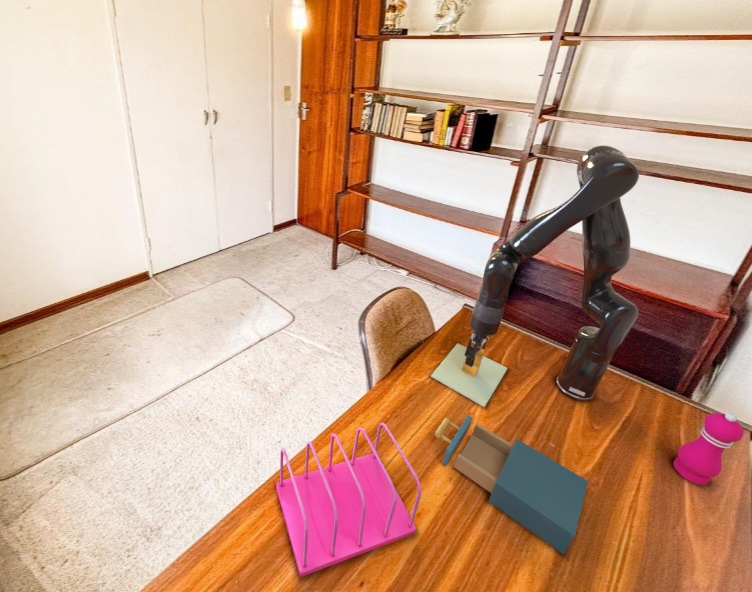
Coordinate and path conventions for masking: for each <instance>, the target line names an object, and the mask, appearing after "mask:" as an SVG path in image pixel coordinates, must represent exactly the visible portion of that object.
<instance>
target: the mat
mask: <svg viewBox="0 0 752 592" xmlns="http://www.w3.org/2000/svg"><path fill="white" fill-rule="evenodd" d="M466 349H467V346H464V345H462V344H460V343H458V342H457V343H456V344H455V346H454V347H453V348H452V349H451V350H450V352H449V353H448V354H447V355H446V356H445V358H444V359H443V360H442V361H441V362H440V364H439V365H438V366H437V367H436V369H435V370H434V371H433V372H432V373H431V374H430V377H431V378H432V379H434V380H436V381H438V382H439V383H441V384H443V385H445V386H446V387H448V388H450V389H451V390H452V391H455V392H457V393H458V394H460V395H462V396H464V397H465V398H467V399H468V400H471V401H472V402H475V403H476V404H477V405H479V406H481V407H483V408H485V407H486V406H487V404H488V402H489V401H490V399H491V397H492V395H493V394H494V393H495V390H496V389H497V387H499V384H500V382H501V381H502V379H503V377H504V376H505V374H506V372H507V371H508V367H506V366H505V365H502V364H500V363H498V362H496V361H494V360H492V359H491V358H488V357H486V356H485V355H483V358H482V362H481V365H480V368H479V371H478V373H477V375H476V376H475V378H474V377H472V376H470V375H468V374H466V373H464V372H462V367H463V364H464V360H465V357H466V356H464V355H465V352H466Z"/></svg>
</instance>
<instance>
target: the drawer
mask: <svg viewBox="0 0 752 592" xmlns="http://www.w3.org/2000/svg"><path fill="white" fill-rule="evenodd" d="M472 420H473V416H471V415H469V414H467V416H466V417H465V418H464V420H463V422H462V423H461V425H460V427H459V426H458V425H457V424H455V423H453V422H452V421H451V420H450V418H449V417H444V419H443V420H442V422H441V423H440V424H439V426H438V428H437V429H436V430H435V432H434V436H435V438H438V439H439V438H441V439H442V440H444V441H445V442H447V443H448V446H447V447H446V448H445V452H444V454H443V458H442V462H441V464H443V465H444V466H446V467H447V466H448V465H449V463H450V462H451V460H452V458H453V457H454V456H455V454H456V452H457V450H458V449H459V447H460V445H461V444H462V442H463V441H464V439H465V437H466V435H467V434H468V432H469V430H470V427H471V423H472ZM448 426H450V427H452V428H454V429H455V430H457V431H456V433H455V435H454V437H453V438H452V439H450V438H449V437H447V436H446V435H444V434H443V433H444V432H445V430H446V429H447V427H448ZM472 431H473V432H472V434H471V435H470V438H469V439H468V441H467V442H466V445H464V448H463V449H462V451H461V453H457V455H456V459H455V462H454V465H453V468H454V469H456V470H457V471H458V472H460V473H461V474H463V475H464V476H465V477H467V478H469V479H470V480H471V481H473V482H474V483H476V484H477V485H478V486H479V487H481V488H483V489H484V490H485V491H487V492H489V493H490V494H492V491H493V489H494V486H495V484H496V481H497V479H498V477H499V475H500V473H501V471H502V469H503V466H504V464H505V462H506V460H507V458H508V456H509V454H510V451H511V449H512V447H513V445H514V444H512V443H511V442H509V441H508V440H506V439H505V438H502V437H501V436H499V435H497V434H496V433H495V432H493V431H491V430H489V429H488V428H486V427H485V426H482V425H481V424H479V423H477V422H476V423H475V425H474V429H473V430H472Z"/></svg>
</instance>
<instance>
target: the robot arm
mask: <svg viewBox="0 0 752 592" xmlns="http://www.w3.org/2000/svg"><path fill="white" fill-rule="evenodd" d="M576 176H577V180H578V185H579V189H578V190H577V191H576V192H575V193H574V195H572V196H571V197H570V198H569V199H567V200H566V201H565V202H563V203H561V204H559V205H558V206H556V207H553V208H551V209H549V210H546V211H543V212H541V213H538V214H537V215H535V216H534V217H532V218H531V219H530V220H529V221H528V222H526V223H525V224H524V225H523V226H522V227H521V228H520V229H519V230H518V231H516V232H515V233H514V234H513V235H512V237H510V238H509V239H508V240H506V241H504V242H503V243H502V244H500V245H499V246H497V248H495V249H494V250H493V251H492V252H491V254H490V255H489V258H488V259H487V261H486V264H485V266H484V270H483V277H482V283H481V286H480V289H479V292H478V296H477V297H476V298H477V299H476V300H475V303H474V306H473V308H472V309H473V310H472V313H471V316H470V320H469V325H470V327H471V329H473V332H472V333H471V338H469V339H468V343H467V346H466V348H467V349H466V352H465V355H464V356H466V361H465V364H466V365H468V366H470V367H472V366H473V364H474V361H475V358H476V356H477V353H478V352H480V351H481V349H483V350H485V348H486V346H487V345H486V344H487V343H488V342H489V340H490V338H491V337H492V336H495V335H496V334H497V333H498V331H499V329H500V325H501V322H502V319H503V316H504V313H505V307H506V304H507V300H508V298H509V294H510V293H509V292H510V287H511V285H512V282H513V279H514V278H515V274H516V272H517V269H518V267H519V266H520V265H521V264H523V262H524V261H526V260H527V259H528V258H533V257H535V256H536V255H538V254H539V253H541V252H542V251H543V250H544V249H545V248H546V247H548V246H549V245H550V244H552V242H554V241H555V240H557V238H559V237H560V236H561V235H562V234H564V233H565V232H566V231H568V230H569V229H571V228H573V227H574V226H576V225H578V224H579V223H581V234H582V235H581V240H582V241H581V245H582V258H583V283H582V284H583V285H582V292H581V293H582V294H581V309H582V311H583V312H584V314H586V316H587V317H589V318H590V319H591V320H593V321H594V322H595V323H596V324H598V325H599V327H598V326H590V325H585V326H582V327H580V328H579V329H578V330H577V332H576V334H575V336H574V338H573V341H572V344H571V346H570V349H569V351H568V353H567V355H566V357H565V360H564V362H563V364H562V366H561V369H560V371H559V373H558V375H557V377H556V379H555V385H556V386H557V388H558V389H559V390H560V391H561V392H562V393H563V394H564V395H566V396H568V397H570V399H574V400H577V401H580V402H589V401H591V400H593V398H594V396H595V393H596V391H597V389H598V387H599V385H600V383H601V381H602V379H603V378H604V376H605V373H606V371H607V370H608V367H609V366H610V364H611V361H612V359H613V357H614V355H615V353H616V351H617V350H618V348H620V346H622V345H623V343H624V342H625V340H626V338H627V336H628V335H629V334H630V332H631V330H632V329H633V327H634V325H635V324H636V322H637V319H638V317H639V308H638V306H636V305H635V304H634V303H633V302H632V301H630V300H629V299H627V298H625V297H623V296H622V295H621V294H620V293H618V292H616V291H615V290H614V288H613V284H612V278H613V276H614V275H616V274H617V273H618V272H620V271H621V270H622V269H624V268H625V267H626V265H627V264H628V263H629V261H630V258H631V243H632V242H631V232H630V228H629V223H628V221H627V217H626V214H625V212H624V211H625V210H624V208H623V204H622V201H621V200H622V199H621V198H622V197H623V196H625V195H626V194H628V193H629V192H631V190H632V189H634V187H635V186H636V185H637V183H638V181H639V179H640V172H639V169H638V167H637V166H636V165H635V163H633V161H631V159H630V158H629V157H628V156H627V155H625V153H623V152H622V151H621V150H620V149H617V148H616V147H613V146H611V145H596V146H594V147H592V148H590V149H588V150H587V151H585V153H583V154H582V155H581V157H580V158H579V160H578V162H577V165H576ZM478 347H479V348H478Z"/></svg>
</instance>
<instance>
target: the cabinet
mask: <svg viewBox="0 0 752 592" xmlns="http://www.w3.org/2000/svg"><path fill="white" fill-rule="evenodd" d="M512 445H513V447H512V449H511V451H510V454H509V456H508V458H507V460H506V462H505V464H504V466H503V469H502V471H501V473H500V475H499V477H498V479H497V481H496V484H495V486H494V489H493V491H492V493H490V496H489V499H488V503H490V504H492V505H493V506H494V507H495V508H497V509H499V510H500V511H501V512H502V513H504V514H506V515H507V516H508V517H509V518H511V519H512V520H514V521H515V522H517V523H518V524H519V525H521V526H522V527H524V528H525V529H527V530H528V531H530V532H531V533H532V534H534V535H535V536H536V537H538V538H539V539H541V540H542V541H544V542H545V543H546V544H548V545H549V546H550V547H552V548H553V549H555V550H556V551H557V552H559V553H561V554H562V555H564V554H565V553H566V551H567V550H568V548H569V546H570V545H571V543H572V541H573V540H574V538H575V536H576V533H577V529H578V525H579V521H580V517H581V513H582V512H581V511H582V508H583V505H584V501H585V496H586V492H587V489H588V485H589V480H587V479H586V478H584V477H582V476H581V475H579V474H577V473H576V472H574V471H572V470H571V469H569V468H567V467H565V466H564V465H562V464H560V463H559V462H557V461H555V460H554V459H552V458H551V457H548V456H546V455H545V454H543V453H542V452H540V451H539V450H536V449H535V448H533V447H531V446H530V445H528V444H526V443H525V442H524V441H522V440H520V439H518V438H516V439H515V441H514V443H513V444H512Z"/></svg>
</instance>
